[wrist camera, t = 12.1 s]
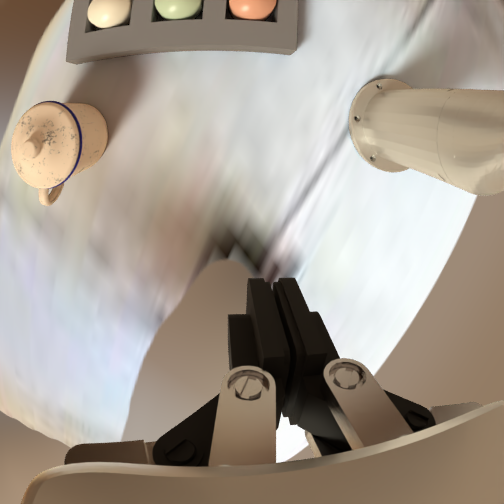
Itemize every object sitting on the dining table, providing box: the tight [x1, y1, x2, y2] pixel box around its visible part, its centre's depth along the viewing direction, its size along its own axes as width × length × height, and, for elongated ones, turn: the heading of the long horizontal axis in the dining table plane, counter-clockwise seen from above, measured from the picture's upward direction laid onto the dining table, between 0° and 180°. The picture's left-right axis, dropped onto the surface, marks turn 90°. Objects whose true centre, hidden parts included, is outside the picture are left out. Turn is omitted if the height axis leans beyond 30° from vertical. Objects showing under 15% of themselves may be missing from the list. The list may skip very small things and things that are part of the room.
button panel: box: [66, 0, 298, 65], centre depth 24 cm, size 26×12×3 cm, turn 87°
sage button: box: [155, 0, 202, 21], centre depth 24 cm, size 5×5×3 cm
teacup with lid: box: [11, 101, 108, 206], centre depth 26 cm, size 12×9×12 cm
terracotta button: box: [229, 0, 276, 21], centre depth 25 cm, size 5×5×3 cm
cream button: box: [87, 0, 133, 30], centre depth 23 cm, size 5×5×3 cm
